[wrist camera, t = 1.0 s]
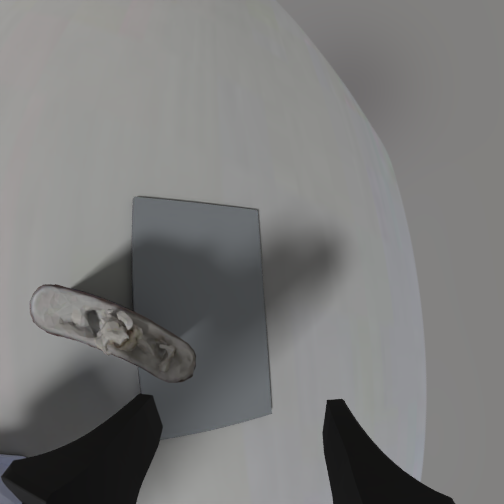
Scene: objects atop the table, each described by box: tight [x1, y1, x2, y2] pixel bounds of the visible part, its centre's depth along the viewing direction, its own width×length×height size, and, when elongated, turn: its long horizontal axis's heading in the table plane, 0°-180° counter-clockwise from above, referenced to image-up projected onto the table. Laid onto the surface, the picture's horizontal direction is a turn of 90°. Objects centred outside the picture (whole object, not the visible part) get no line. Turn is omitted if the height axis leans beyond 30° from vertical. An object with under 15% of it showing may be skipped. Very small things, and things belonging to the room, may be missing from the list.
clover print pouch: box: [30, 284, 196, 383], centre depth 16 cm, size 9×3×11 cm, turn 71°
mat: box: [132, 197, 272, 440], centre depth 25 cm, size 12×20×1 cm, turn 4°
